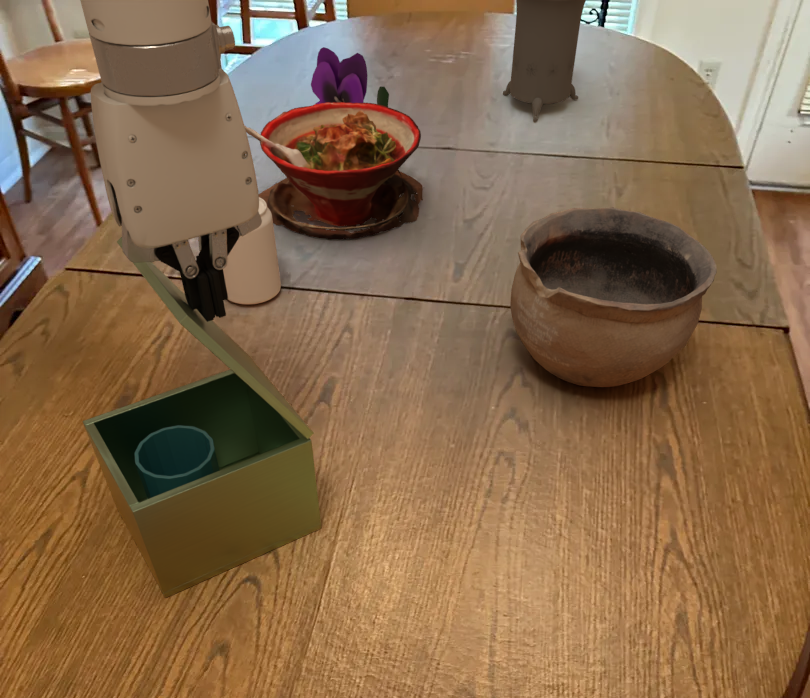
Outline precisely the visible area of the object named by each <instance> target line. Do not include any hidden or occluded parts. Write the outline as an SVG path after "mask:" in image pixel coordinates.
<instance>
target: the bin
mask: <svg viewBox="0 0 810 698" xmlns="http://www.w3.org/2000/svg"><path fill="white" fill-rule="evenodd" d="M82 423H83V427H84V429H85V432H86V434H87V437H88V439H89V442H90V444H91V446H92V450H93V452H94V454H95V458H96V459H97V461H98V464H99V466H100V470H101V472H102V475H103V477H104V480H105V482H106V484H107V487H108V489H109V492H110V494H111V497H112V499H113V503H114V504H115V507H116V509H117V511H118V514H119V515H120V517H121V519H122V521H123V522H124V525H125V526H126V528H127V530H128V532H129V534H130V536H131V538H132V540H133V541H134V543H135V545H136V547H137V549H138V551H139V553H140V554H141V556H142V558H143V560H144V562H145V564H146V566H147V567H148V569H149V571H150V573H151V575H152V576H153V579H154V580H155V582H156V584H157V586H158V589H160V591H161V593H162V595H163V597H164V598H165V599H167V598H169V597H171V596H174V595H176V594H178V593H180V592H182V591H185V590H187V589H189V588H191V587H193V586H195V585H198V584H200V583H203V582H205V581H208V580H209V579H212V578H214V577H216V576H218V575H220V574H222V573H225V572H227V571H230V570H231V569H234V568H237V567H238V566H240V565H242V564H245V563H247V562H249V561H252V560H254V559H256V558H258V557H260V556H262V555H265V554H268V553H270V552H271V551H274V550H277V549H278V548H281V547H283V546H286V545H287V544H289V543H292V542H294V541H296V540H299V539H301V538H303V537H305V536H307V535H310V534H311V533H314V532H317V531H319V530H321V529H322V519H321V511H320V502H319V494H318V485H317V477H316V470H315V469H316V468H315V460H314V449H313V442H312V439H311V437H310V438H309V439H307V438H306V437H305V436H304V435H303V434H301V433H300V432H299V431H298V430H297V429H296V428H295V427H294V426H293V425H292V424H290V423H289V422H288V421H287V420H286V419H285V418H284V417H283V416H282V415H280V414H279V413H278V412H277V411H276V410H275V409H274V408H273V407H272V406H271V405H269V404H268V403H267V402H266V401H265V400H264V399H263V398H262V397H261V396H259V395H258V394H257V393H256V392H255V391H254V390H253V389H252V388H251V387H250V386H248V385H247V384H246V383H245V382H244V381H243V380H242V379H241V378H240V377H239V376H237V375H236V374H235V373H234V372H233V371H232V370H231V369H230V368H229V369H227V370H224V371H221V372H218V373H216V374H213V375H210V376H207V377H204V378H202V379H199V380H195V381H193V382H190V383H187V384H184V385H182V386H178V387H175V388H173V389H170V390H167V391H164V392H162V393H159V394H156V395H152V396H149V397H147V398H144V399H141V400H138V401H136V402H133V403H130V404H127V405H124V406H121V407H118V408H116V409H113V410H110V411H106V412H104V413H102V414H99V415H96V416H94V417H93V416H92V417H90V418H87V419H84V420H82ZM177 425H182V426H193V427H196V428H199V429H201V430H203V431H206V433H207V434H208V435H209V436H210V437H211V438H212V439H213V442H214V446H215V450H216V454H217V459H218V463H219V467H220V471H217V472H215V473H212V474H210V475H207V476H205V477H202V478H200V479H197V480H195V481H192V482H190V483H187V484H185V485H182V486H180V487H177V488H175V489H172V490H170V491H167V492H165V493H162V494H159V495H157V496H154V497H152V498H149V499H148V498H147V496H146V493H145V490H144V487H143V484H142V481H141V478H140V476H139V473H138V470H137V467H136V464H135V454H134V453H135V451H136V449H137V447H138V445H139V443H140V442H141V441H142V440H144V439H145V438H146V437H147V436H148V435H149V434H151V433H153V432H156V431H158V430H160V429H162V428H166V427H172V426H177Z"/></svg>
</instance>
